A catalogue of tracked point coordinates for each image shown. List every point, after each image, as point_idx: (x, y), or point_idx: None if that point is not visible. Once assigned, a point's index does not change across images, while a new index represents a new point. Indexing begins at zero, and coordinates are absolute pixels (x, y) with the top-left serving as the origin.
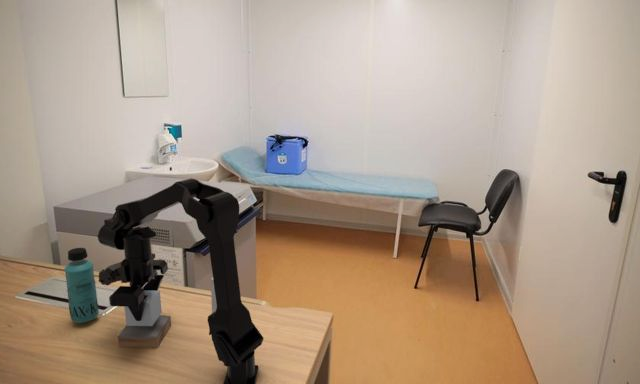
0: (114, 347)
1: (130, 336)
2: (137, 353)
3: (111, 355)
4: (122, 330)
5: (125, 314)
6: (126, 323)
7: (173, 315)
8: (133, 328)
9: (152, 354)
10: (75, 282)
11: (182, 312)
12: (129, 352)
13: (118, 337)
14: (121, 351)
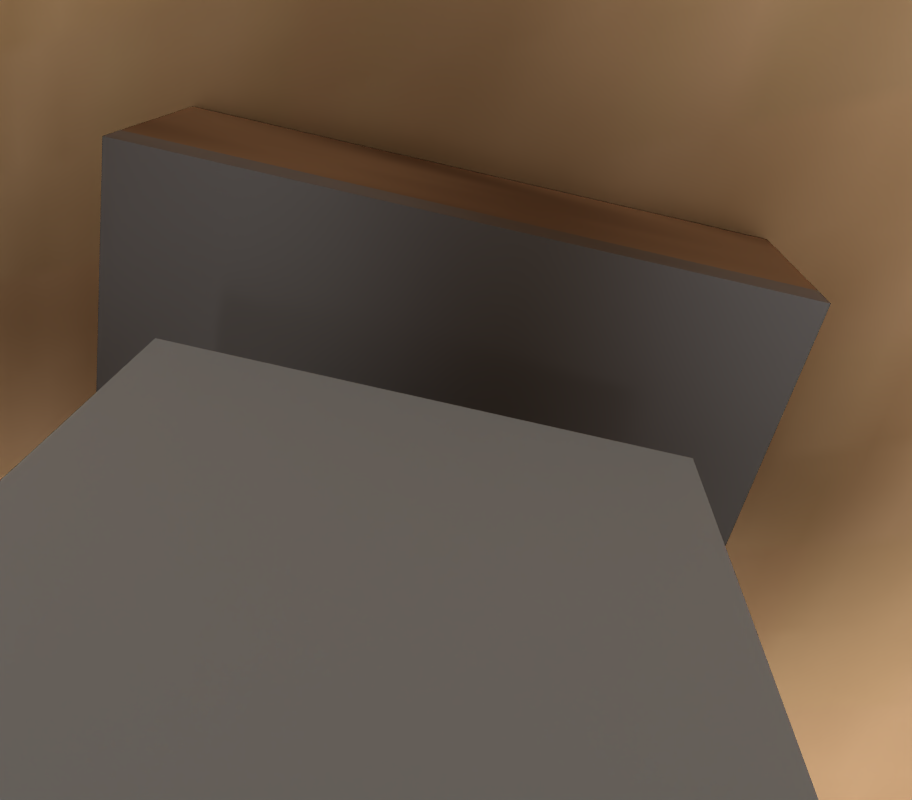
0: (197, 31)
1: (99, 357)
2: (59, 379)
3: (4, 38)
4: (285, 182)
5: (5, 482)
6: (135, 361)
7: (859, 680)
8: (332, 364)
9: None
10: None
11: (892, 763)
12: (77, 279)
13: (112, 144)
14: (98, 166)
